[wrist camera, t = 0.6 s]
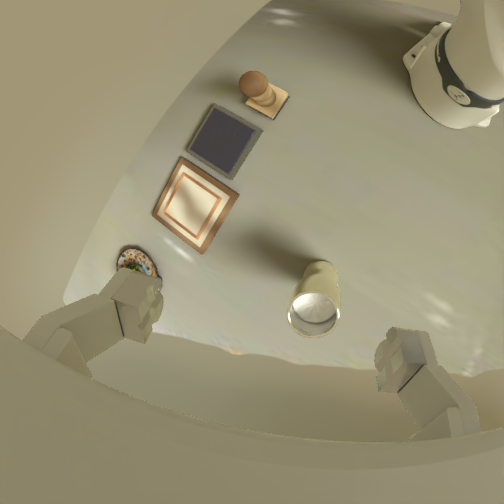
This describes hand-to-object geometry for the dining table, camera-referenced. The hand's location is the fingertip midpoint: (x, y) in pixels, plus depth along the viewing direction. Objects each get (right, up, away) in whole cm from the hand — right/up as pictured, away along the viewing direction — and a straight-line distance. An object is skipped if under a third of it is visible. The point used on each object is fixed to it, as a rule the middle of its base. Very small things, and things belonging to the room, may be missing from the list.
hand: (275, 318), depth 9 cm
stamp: (+2, +28, +34) cm, 44 cm away
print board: (-12, +11, +43) cm, 45 cm away
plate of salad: (-25, -2, +50) cm, 56 cm away
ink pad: (-6, +22, +38) cm, 44 cm away
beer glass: (+11, -2, +39) cm, 41 cm away
